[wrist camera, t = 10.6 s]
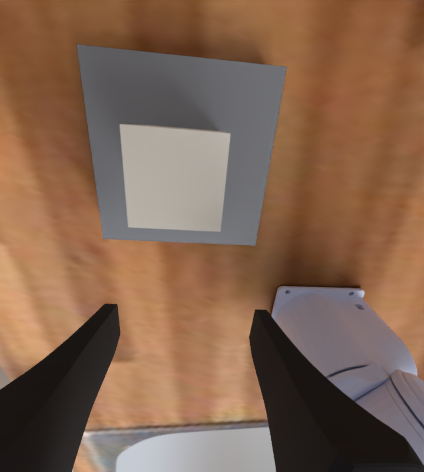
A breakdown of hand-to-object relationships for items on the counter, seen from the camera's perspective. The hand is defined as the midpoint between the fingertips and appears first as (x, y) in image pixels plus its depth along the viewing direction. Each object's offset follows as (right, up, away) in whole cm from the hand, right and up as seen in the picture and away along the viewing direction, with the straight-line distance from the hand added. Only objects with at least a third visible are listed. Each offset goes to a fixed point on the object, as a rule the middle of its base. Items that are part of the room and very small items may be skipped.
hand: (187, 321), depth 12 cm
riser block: (-1, +11, +6) cm, 12 cm away
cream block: (-1, +9, +4) cm, 10 cm away
